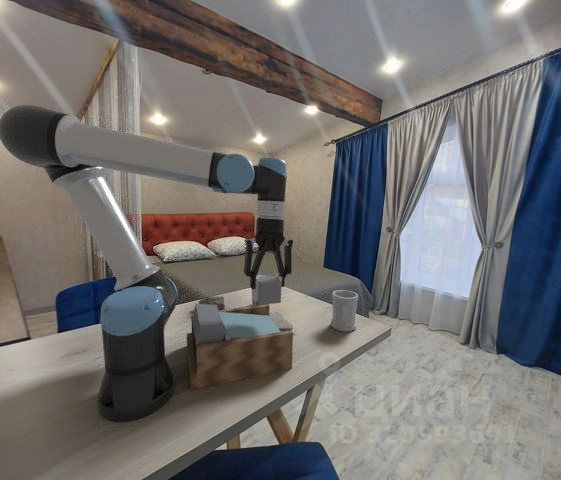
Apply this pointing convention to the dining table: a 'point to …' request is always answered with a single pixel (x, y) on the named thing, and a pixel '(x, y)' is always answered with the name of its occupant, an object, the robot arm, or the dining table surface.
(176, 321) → the dining table surface
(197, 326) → the trapdoor
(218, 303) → the rock
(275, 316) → the stone
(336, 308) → the cup
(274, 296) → the block
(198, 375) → the brown open boxy piece
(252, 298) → the soda can
